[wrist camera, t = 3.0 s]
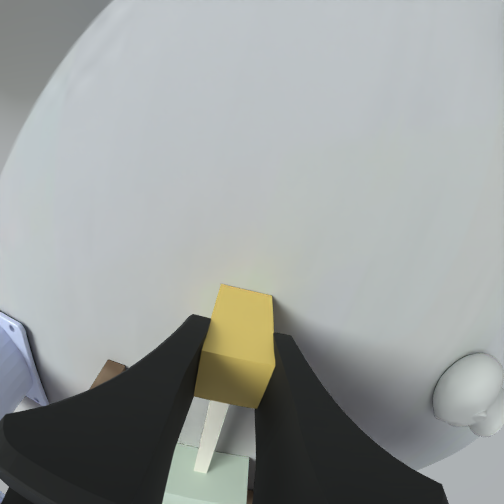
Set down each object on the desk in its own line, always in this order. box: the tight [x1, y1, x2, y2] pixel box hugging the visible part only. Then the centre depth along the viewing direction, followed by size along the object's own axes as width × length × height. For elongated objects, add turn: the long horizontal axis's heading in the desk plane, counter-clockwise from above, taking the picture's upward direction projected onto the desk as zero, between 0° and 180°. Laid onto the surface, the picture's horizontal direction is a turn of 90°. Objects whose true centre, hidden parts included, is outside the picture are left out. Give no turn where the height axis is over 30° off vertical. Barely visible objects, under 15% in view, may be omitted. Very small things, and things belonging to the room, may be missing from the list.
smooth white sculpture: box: [433, 353, 504, 437], centre depth 12 cm, size 4×8×5 cm
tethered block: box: [162, 284, 275, 504], centre depth 12 cm, size 6×18×4 cm, turn 167°
